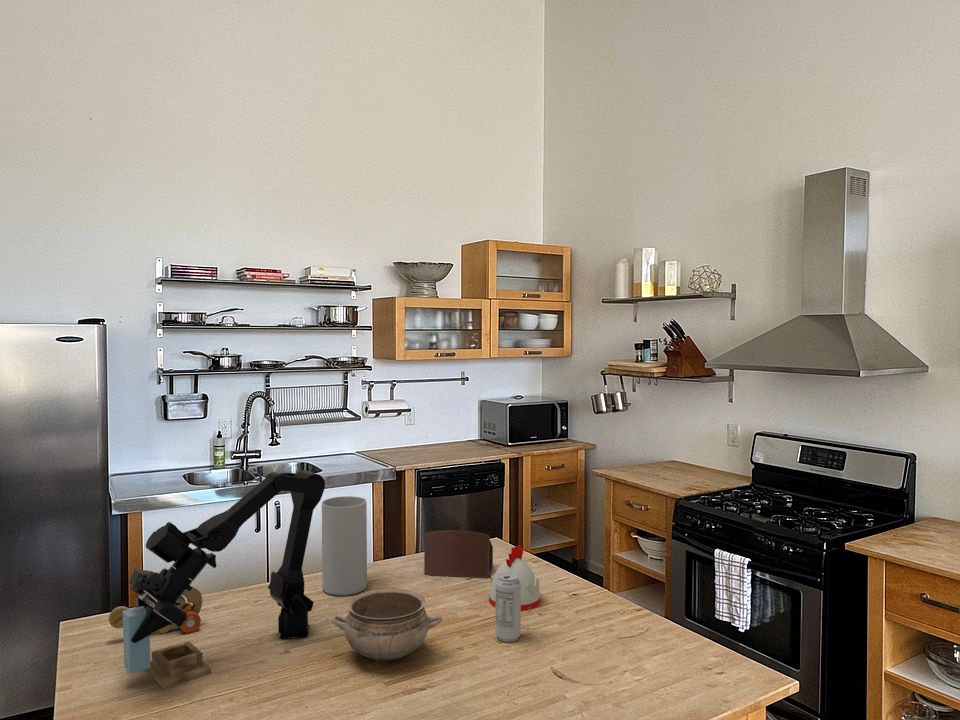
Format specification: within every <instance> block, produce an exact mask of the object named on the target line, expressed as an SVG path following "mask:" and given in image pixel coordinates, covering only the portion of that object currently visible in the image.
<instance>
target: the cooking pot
mask: <svg viewBox="0 0 960 720" xmlns="http://www.w3.org/2000/svg"><path fill="white" fill-rule="evenodd" d="M425 604H426V599H425V597H424V596H423V595H422V594H420V593H418V592H416V591H413V590H410V589H405V588H404V589H403V588H379V589H372V590H369V591H365V592H362V593H361V592H360V593H358V594H357V595H354V597H352V598H351V599H350V600H349V601H348V604H347V608H348V610H349V611H348V613H347V616H346V617H342V616H339V615H334V616H333V617H332V618H331V623H332V624H333V625H335V627H337V628H338V629H340V630H342V631H343V632H344V634H345V638H346V641H347V643H348V644H349V646H350V647H351V648H352V649H353V651H354V652H357V653H358V654H359V655H361V656H364V657H366V658H368V659H371V660H374V661H376V662H379V663H391V662H395V661H398V660H399V659H401V658H403V657H406V656H408V655H409V654H412V653H414V651H415V650H418V648H419V647H420V646H421V645H422V644H423V642H425V639H426V637H427V635H428V632H429V630H431V629H432V628H435V627H437V626H438V625H439V624H440V623H441V622H442V620H443V618H442V616H440V615H438V616H428V613H427V611H426V609H425V606H426V605H425ZM338 621H339V622H338ZM340 622H341V623H340Z"/></svg>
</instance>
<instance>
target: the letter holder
mask: <svg viewBox="0 0 960 720" xmlns="http://www.w3.org/2000/svg"><path fill="white" fill-rule="evenodd" d="M423 547H424V553H423V555H424V558H423V561H424V564H423V565H424V567H423V568H424V569H423V571H424V573H423V574H424V576H425V575H430V576H431V577H446V576H448V578H450V577H451V578H469V579H472V578H473V579H488V578H489V579H491V576H492V575H491V574H492V571H493V569H494V567H493V564H494V560H493V559H494V557H493V556H494V555H493V553H494V546H493V544H492V541H491V538H490V535H489V534H487V533H483V532H478V531H472V530H471V531H470V530H461V529H449V530H448V529H446V530H445V529H444V530H433V531H432V530H431V531H427V532H425V533H424V546H423ZM430 576H429V577H430Z"/></svg>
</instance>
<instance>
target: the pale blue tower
mask: <svg viewBox="0 0 960 720" xmlns="http://www.w3.org/2000/svg"><path fill="white" fill-rule="evenodd" d="M132 608H133V609H130V610H126V611H123V628H122V636H123V637H122V638H123V666H124V667H123V668H124V669H125V670H126V671H127V672H128V674H130V675H132V674H135V673H138V672H142V671H146V670H145V669H148V668H151V663H150V662H151V635H149V636H147V637H145V638H144V639H142V640H140V641H138V642H137V643H133V642H132V641H131V639H132V637H133V636H134V634H135V632H136V631H137V629H138V628H139V626H140V625H141V623H142V622H143V620H144V619H145V618H146V614H147V609H145V608H144V607H143V606H141V607H137V608H134V607H132Z"/></svg>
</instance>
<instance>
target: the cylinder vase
mask: <svg viewBox="0 0 960 720" xmlns="http://www.w3.org/2000/svg"><path fill="white" fill-rule="evenodd" d="M367 510H368V509H367V499H366V498H364V497H360V496H351V495H349V496H348V495H347V496H346V495H345V496H335V497H330V498H326V499H324V500H322V501H321V560H322V562H321V565H322V566H321V573H322V575H321V577H322V578H321V580H322V581H321V583H322V586H321V587H322V590H323V591H324V592H325V593H326V594H328V595H332V596H338V597H340V596H341V597H342V596H345V597H346V596H353V595H356V594H360V593H361V592H363V591H364V590H366V589H367V586H368V539H367V538H368V537H367V536H368V534H367V533H368V530H367V529H368V527H367V526H368V525H367V524H368V523H367V522H368V519H367V518H368V517H367V516H368V515H367Z"/></svg>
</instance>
